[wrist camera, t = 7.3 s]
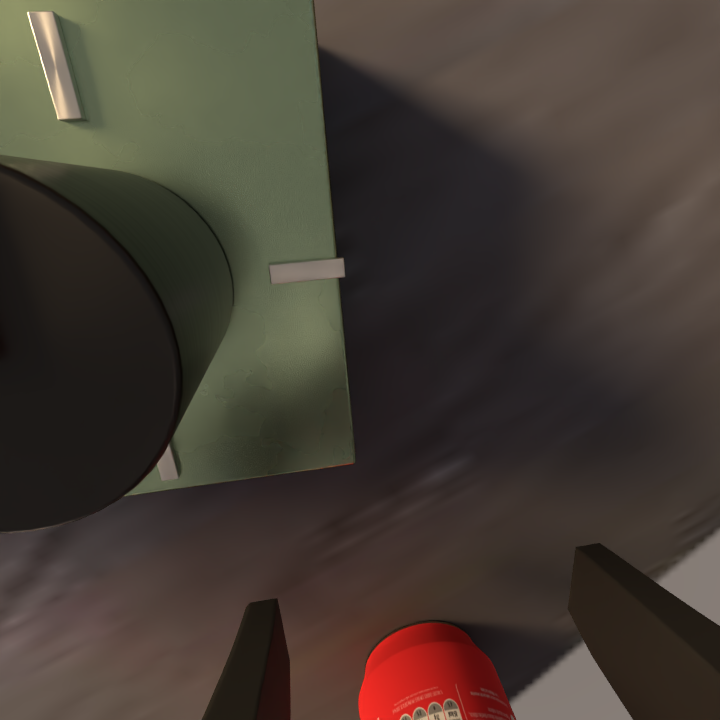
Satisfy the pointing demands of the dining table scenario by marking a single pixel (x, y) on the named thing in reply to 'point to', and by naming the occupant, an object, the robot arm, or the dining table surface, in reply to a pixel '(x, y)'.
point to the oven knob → (96, 333)
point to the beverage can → (431, 677)
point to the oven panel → (209, 197)
